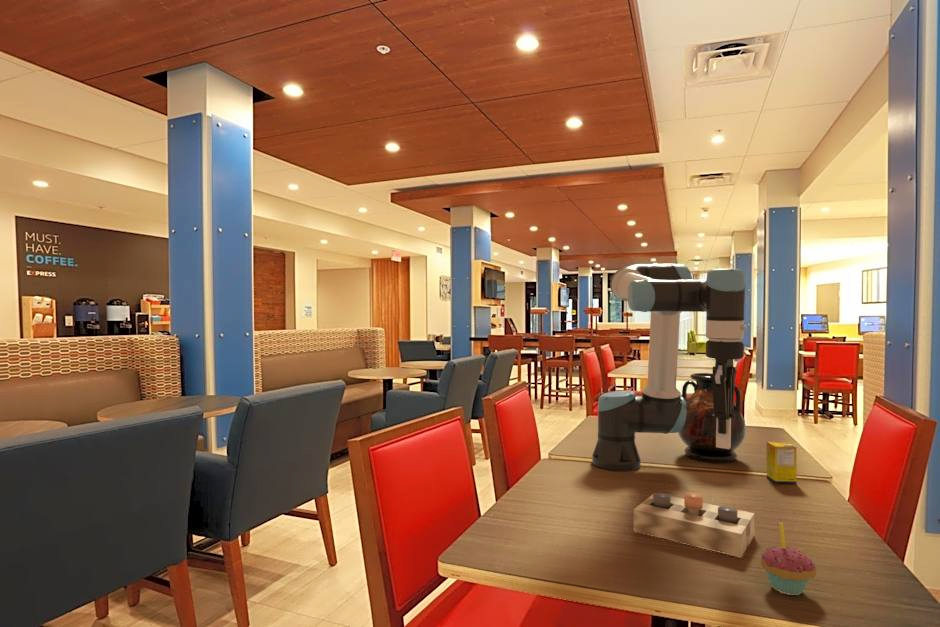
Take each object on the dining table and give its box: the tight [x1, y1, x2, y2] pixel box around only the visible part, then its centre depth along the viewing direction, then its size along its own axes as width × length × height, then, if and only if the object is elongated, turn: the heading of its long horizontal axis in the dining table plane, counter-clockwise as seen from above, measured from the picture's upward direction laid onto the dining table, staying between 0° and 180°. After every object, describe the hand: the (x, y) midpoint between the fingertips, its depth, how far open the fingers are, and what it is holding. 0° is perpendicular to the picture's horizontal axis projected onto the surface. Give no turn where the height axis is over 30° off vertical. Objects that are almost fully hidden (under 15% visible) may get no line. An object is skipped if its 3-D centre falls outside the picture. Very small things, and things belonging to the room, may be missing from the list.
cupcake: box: [760, 517, 817, 594], centre depth 96 cm, size 9×8×12 cm
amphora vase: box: [677, 372, 747, 463], centre depth 184 cm, size 22×22×28 cm
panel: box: [633, 492, 755, 556], centre depth 121 cm, size 22×14×5 cm, turn 53°
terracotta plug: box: [683, 492, 704, 516], centre depth 121 cm, size 4×4×5 cm
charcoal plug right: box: [718, 505, 738, 524], centre depth 116 cm, size 4×4×5 cm
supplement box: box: [766, 441, 798, 485], centre depth 158 cm, size 6×6×11 cm
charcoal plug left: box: [653, 492, 671, 509], centre depth 125 cm, size 4×4×5 cm
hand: (723, 447), depth 119 cm, fingers closed
